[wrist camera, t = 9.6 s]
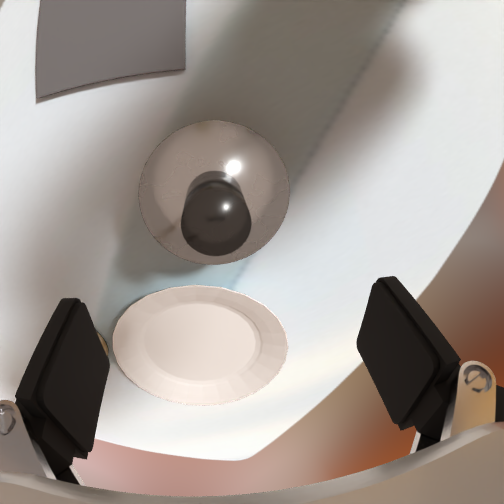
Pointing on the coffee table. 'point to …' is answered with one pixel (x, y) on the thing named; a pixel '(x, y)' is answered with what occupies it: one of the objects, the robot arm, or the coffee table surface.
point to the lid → (214, 192)
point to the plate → (200, 345)
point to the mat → (106, 41)
